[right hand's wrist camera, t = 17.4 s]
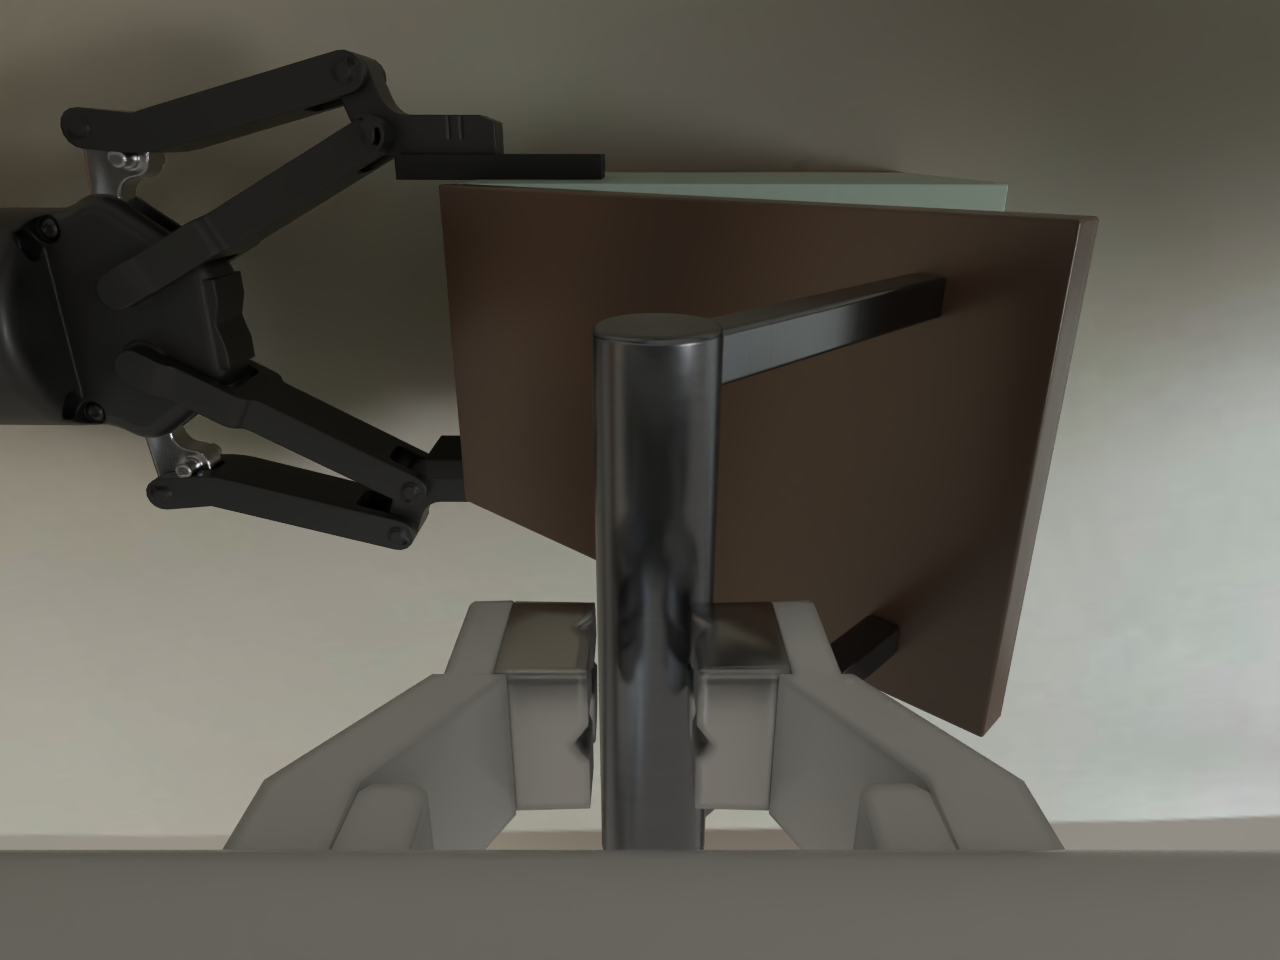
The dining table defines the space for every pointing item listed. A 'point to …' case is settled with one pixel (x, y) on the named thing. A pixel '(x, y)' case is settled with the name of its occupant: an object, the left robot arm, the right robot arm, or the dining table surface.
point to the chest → (796, 187)
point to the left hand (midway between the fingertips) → (604, 321)
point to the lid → (765, 434)
